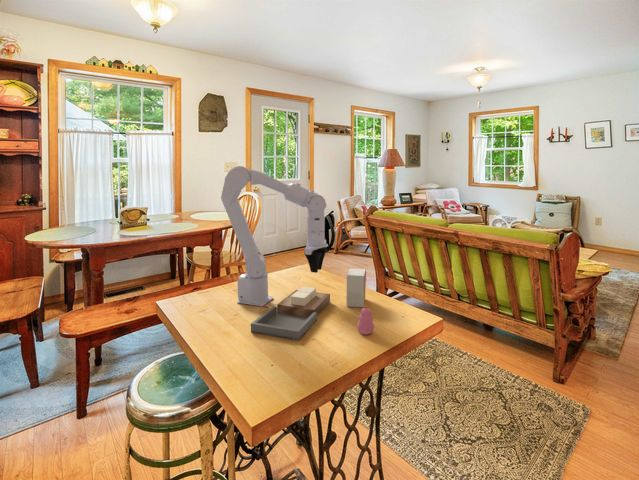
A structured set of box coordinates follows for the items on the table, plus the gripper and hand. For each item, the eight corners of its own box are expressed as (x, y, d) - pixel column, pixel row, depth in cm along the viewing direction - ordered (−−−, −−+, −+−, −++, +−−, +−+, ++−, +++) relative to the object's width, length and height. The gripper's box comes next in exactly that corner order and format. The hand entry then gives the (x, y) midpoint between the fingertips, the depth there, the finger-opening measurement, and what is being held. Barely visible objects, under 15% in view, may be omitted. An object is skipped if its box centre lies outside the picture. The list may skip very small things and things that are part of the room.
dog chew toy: (358, 328, 101) (359, 303, 99) (375, 330, 99) (375, 305, 98) (355, 335, 97) (356, 309, 95) (372, 337, 95) (372, 311, 94)
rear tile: (297, 298, 114) (297, 291, 114) (303, 293, 119) (303, 286, 118) (310, 300, 113) (310, 292, 112) (316, 295, 117) (315, 288, 117)
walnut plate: (277, 313, 110) (277, 304, 110) (296, 298, 123) (296, 289, 123) (314, 319, 106) (314, 309, 106) (330, 302, 119) (330, 294, 118)
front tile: (290, 304, 110) (290, 296, 110) (297, 298, 114) (296, 291, 114) (304, 306, 109) (304, 298, 108) (310, 300, 113) (310, 293, 112)
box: (251, 332, 98) (250, 323, 98) (273, 313, 110) (273, 306, 110) (298, 340, 94) (298, 331, 93) (316, 320, 105) (316, 312, 105)
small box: (363, 308, 115) (364, 276, 112) (346, 306, 116) (346, 275, 114) (365, 299, 122) (366, 268, 120) (349, 297, 123) (349, 267, 121)
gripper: (319, 235, 111) (319, 278, 114) (334, 227, 124) (334, 266, 127) (298, 234, 114) (298, 275, 116) (315, 226, 127) (315, 264, 130)
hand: (316, 270), depth 122 cm, fingers open, 3 cm apart
